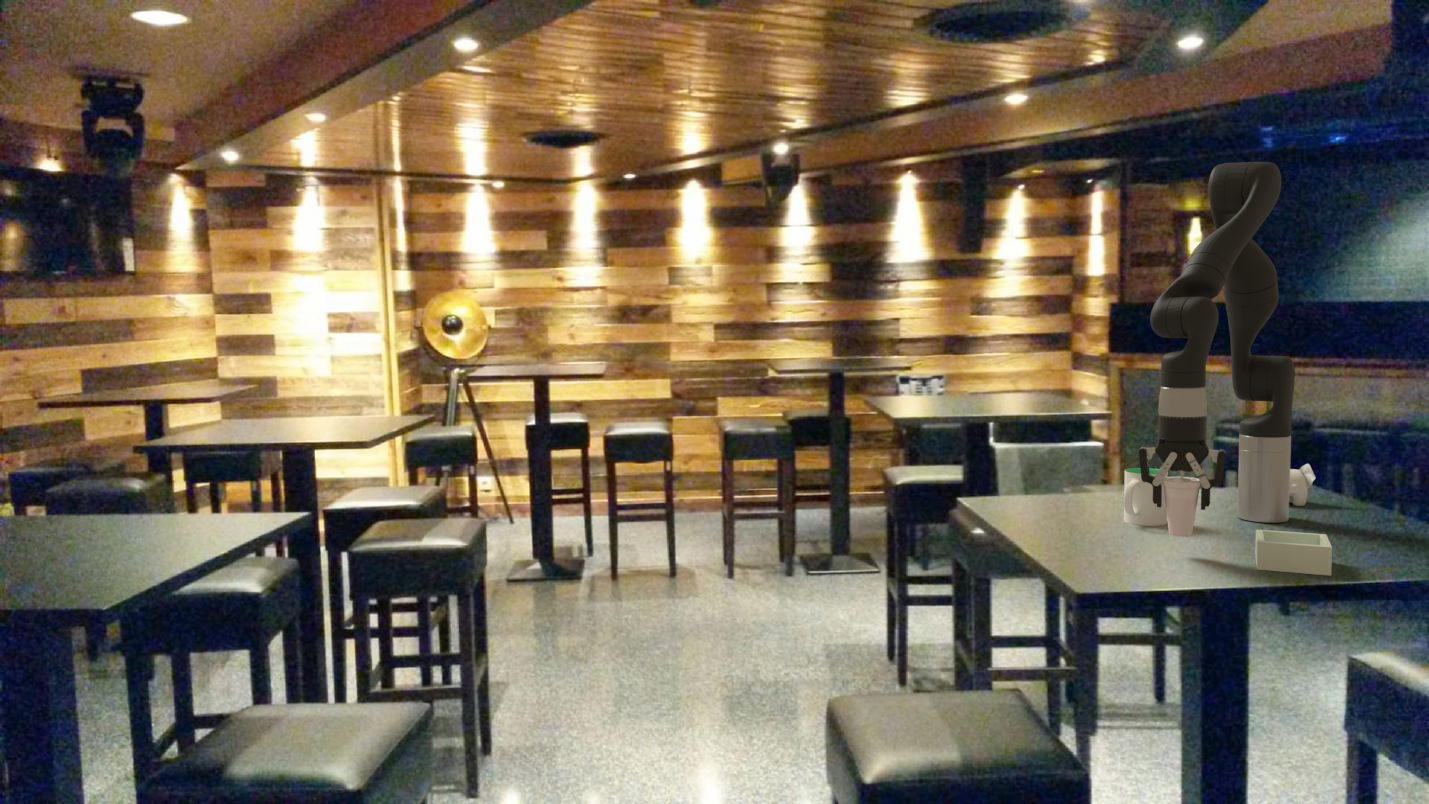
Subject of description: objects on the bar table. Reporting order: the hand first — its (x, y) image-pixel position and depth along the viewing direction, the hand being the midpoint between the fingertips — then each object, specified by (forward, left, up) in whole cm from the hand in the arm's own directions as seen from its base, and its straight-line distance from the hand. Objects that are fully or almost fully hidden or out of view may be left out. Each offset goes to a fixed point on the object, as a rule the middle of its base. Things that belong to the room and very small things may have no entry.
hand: (1180, 507), depth 176 cm
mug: (-27, -8, -9) cm, 29 cm away
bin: (0, +17, -9) cm, 19 cm away
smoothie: (0, 0, -5) cm, 5 cm away
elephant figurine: (-61, +19, -9) cm, 64 cm away
